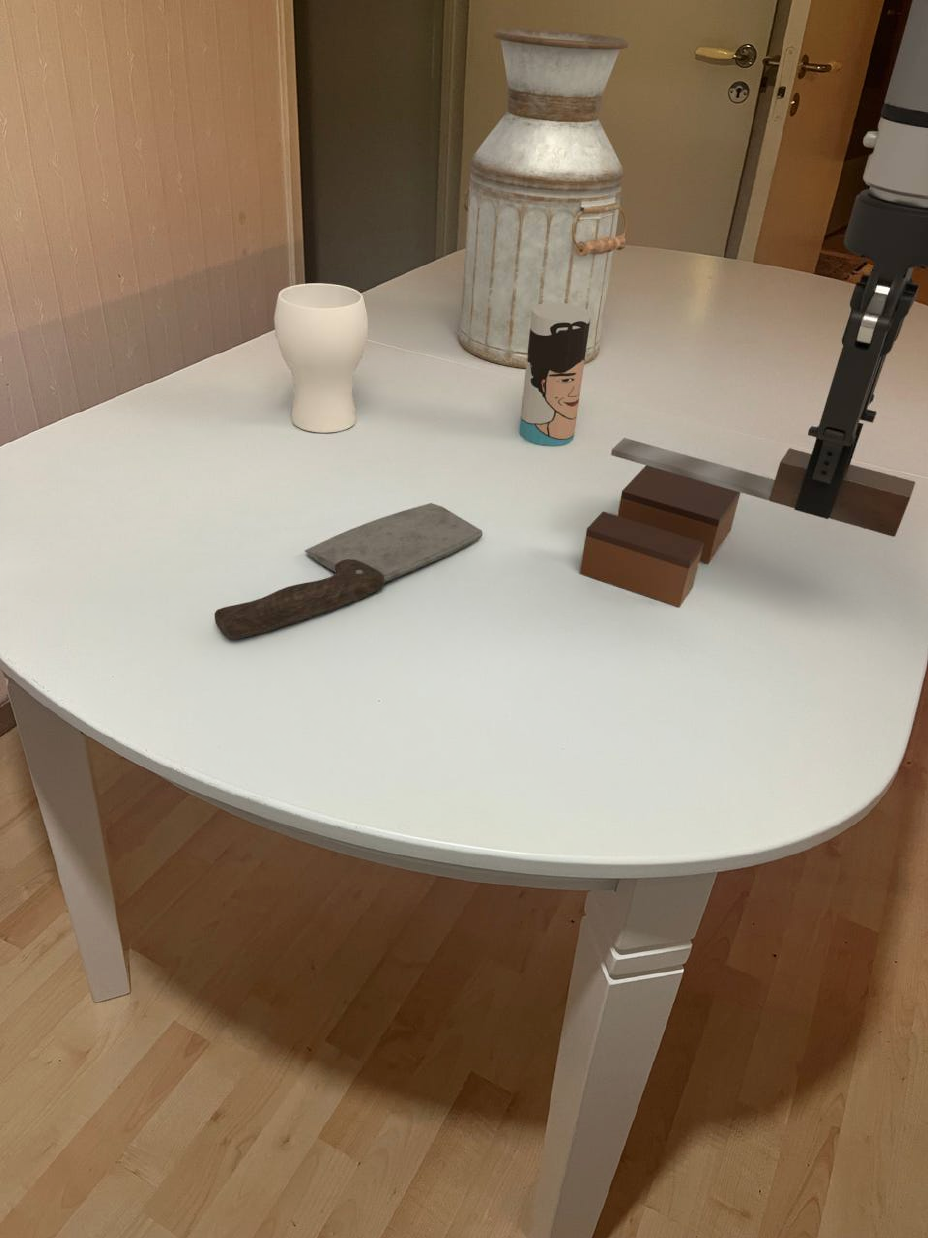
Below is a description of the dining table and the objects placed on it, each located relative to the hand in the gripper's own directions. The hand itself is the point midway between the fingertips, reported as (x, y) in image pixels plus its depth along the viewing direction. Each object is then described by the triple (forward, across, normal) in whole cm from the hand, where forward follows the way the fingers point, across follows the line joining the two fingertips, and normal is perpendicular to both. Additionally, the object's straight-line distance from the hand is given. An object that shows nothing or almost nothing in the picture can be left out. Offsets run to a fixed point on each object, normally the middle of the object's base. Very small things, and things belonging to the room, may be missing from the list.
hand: (817, 502), depth 76 cm
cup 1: (+13, -12, -58) cm, 61 cm away
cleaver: (+13, +14, -36) cm, 41 cm away
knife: (0, 0, -5) cm, 5 cm away
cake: (+13, -11, -13) cm, 21 cm away
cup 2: (+13, -25, -34) cm, 44 cm away
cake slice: (+13, 0, -13) cm, 18 cm away
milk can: (+13, -53, -50) cm, 74 cm away
